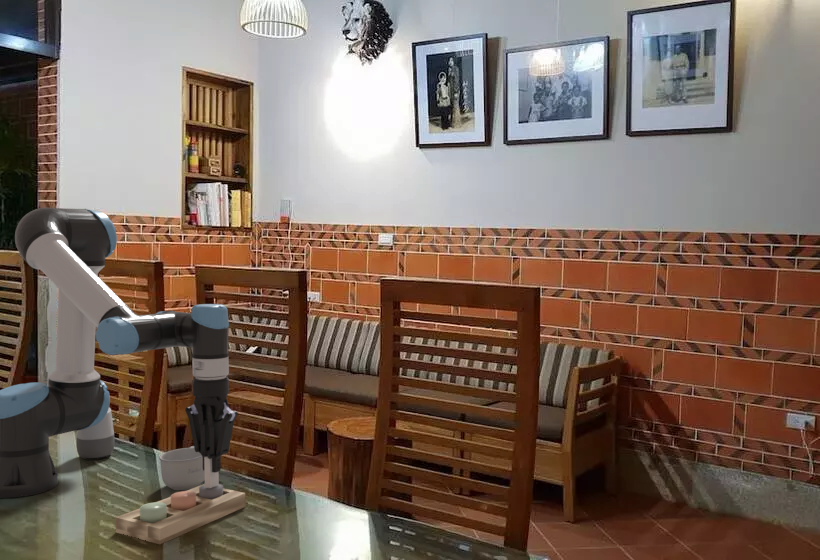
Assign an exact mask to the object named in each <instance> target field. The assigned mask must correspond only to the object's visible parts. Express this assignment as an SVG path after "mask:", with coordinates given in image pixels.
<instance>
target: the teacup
mask: <svg viewBox="0 0 820 560" xmlns="http://www.w3.org/2000/svg"><path fill="white" fill-rule="evenodd" d="M159 463H160V473H161V480H162V483H163V484H165V485H166V486H167V487H169V488H170V489H171V490H174V491H187V490H190V489H192V488H195V487H198V486H200V485H202V484H203V482H205V471H204V470H203V457H202V455H201V453H199V452H195V449H194V445H192V446H189V447H184V448H182V447H181V448H177V449H172V450H168V451H165V452H164V453H162V454H161V455H160V456H159Z"/></svg>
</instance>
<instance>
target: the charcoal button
mask: <svg viewBox="0 0 820 560" xmlns="http://www.w3.org/2000/svg"><path fill="white" fill-rule="evenodd" d="M201 485H202V486H200V487H199V497H202V498H207V499H211V500H212V499H215V498H217V497H220V496H222V495H223V488H224V485H223V484H220V483H219V485H218V486H215V487H212V488H205V485H203V484H201Z"/></svg>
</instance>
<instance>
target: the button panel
mask: <svg viewBox="0 0 820 560" xmlns="http://www.w3.org/2000/svg"><path fill="white" fill-rule="evenodd" d="M202 485H205V483H204V484H203V483H202V484H201V485H200V486H202ZM200 486H198V487H195V488H192V489H189V490H186V491H192V492H195V493H196V506H195V507H192V508H190V509H188V510H185V511H181V510H177V509H173V508H171V496H169V497H166V498H163V499H161V500H158V501H157V502H161V503H165V504H166V505H167V518H165V519H163V520H160V521H158V522H156V523H153V524H152V523H148V522H144V521H140V507H139V508H137V509H134V510H132V511H130V512H126V513H123V514H121V515H119V516H115V533H117V534H120V535H123V534H124V536H127V535H128V537H131V536H132V537H131V538H134V537H136V538H135V539H138V538H139V539H138V540H142V541H145V540H146V542H150V543H153V544H157V545H162V544H164V543H167V542H169V541H171V540H173V539H175V538H178V537H180V536H182V535H184V534H187V533H189V532H191V531H194V530H196V529H198V528H201V527H202V526H205V525H208V524H210V523H212V522H214V521H216V520H219V519H221V518H224V517H225V516H227V515H230V514H232V513H234V512H237V511H239V510H241V509H244V508H246V492H242V491H237V490H233V489H229V488H228V489H227V488H224V487H223V495H222V496H220V497H217V498H215V499H212V500H211V499H207V498H202V497H199V487H200Z"/></svg>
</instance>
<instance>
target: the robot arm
mask: <svg viewBox="0 0 820 560" xmlns="http://www.w3.org/2000/svg"><path fill="white" fill-rule="evenodd" d="M117 238H118V236H117V230H116V227H115V225H114V223H113V221H112V220H111V218H110V217H109V216H108V215H107V214H105V213H104V212H102V211H100V210H95V209H94V210H93V209H87V208H65V207H64V208H59V207H58V208H57V207H40V208H36V209H34V210H32V211H29V212H28V213H26V214H25V215H24V216H23V217H22V218H21V219H20V220H19V222H18V224H17V226H16V228H15V233H14V242H15V247H16V248H17V251H18V253H19V255H20V256H21V258H22V259H23V260H24V261H25V263H27V265H29V267H31V268H33V269H35V270H40V271H41V272H42V273H44V275H45V276H46V277H47V278H48V279H49V280H50V281H51V283H52V284H53V285H55V286H56V287H57V288H58V301H57V302H58V303H57V322H56V323H57V325H56V327H57V330H56V349H55V350H56V353H55V355H56V357H55V358H56V359H55V370H53V372H51V373H50V374H49V375H48V377H47V378H48V379H47V380H48V382H47V384H46V383H45V382H40V381H39V382H33V381H32V382H26V383H19V384H14V385H11V386H7V387H4V388H2V389H0V498H2V499H3V498H5V499H8V498H11V499H12V498H21V497H22V498H23V497H28V496H33V495H38V494H41V493H45V492H47V491H49V490H52V489H54V488H55V487H56V486H57V485H58V472H57V470H56V466H55V465H54V461H53V458H52V456H51V454H50V446H49V444H50V443H49V442H50V441H49V440H50V439H49V437H54V436H58V435H61V434H66V433H70V432H77V430H83V429H86V428H88V427H91V426H94V425H97V424H98V423H100V421H102V420H103V419H104V417H105V416H106V414H107V412H108V409H109V407H110V403H111V397H110V391H109V390H108V386H107V384H106V383H105V382H104V381H103V380H101V374H100V373H99V372H98V371H97V370H95V354H96V353H95V350H96V342H97V343H98V347H99V349H100V350H101V351H102V352H103V353H105V354H107V355H109V356H110V355H113V356H114V355H121V356H122V355H129V354H133V353H134V354H135V353H140V352H145V351H146V352H147V351H152V350H153V351H154V350H160V349H168V348H174V347H175V348H176V347H179V348H191V350H192V352H191V353H192V354H191V356H192V358H191V360H192V376H193V377H194V378H193V379H192V395H193V397H194V401H193V404H192V405H190V406H187V407H185V410H184V411H185V413H186V415H187V417H188V421H189V427H190V432H191V438H192V443H193V446H194V449H195V452H199V453H201V455H202V457H203V470H204V471H205V480H204V484H205V488H212V487H215V486H218V485H219V484H220V481H219V480H220V478H219V477H220V476H219V475H220V474H219V473H220V471H221V468H222V466H221V464H222V463H221V461H222V460H221V457H222V456H223V455H226V454H227V455H228V453H229V451H230V450H229V449H230V445H231V441H232V440H231V439H232V435H233V428H234V423H235V420H236V419H237V417H238V411H236V410H233V409H231V408H230V407H229V402H228V398H227V397H228V394H229V393H230V385H229V384H230V378H229V377H228V375H229V374H230V366H229V365H230V362H229V358H230V357H229V334H230V333H229V328H230V323H229V310H228V307H227V306H226V305H225V304H220V303H202V304H199V303H198V304H194V305H193V306H192V307H191V312H185V311H184V312H182V311H175V310H165V311H164V310H163V311H157V312H156V313H152V314H151V313H150V314H149V313H147V314H137V313H135V312H134V310H133V309H131V308H130V307H129V306H128V305H127V304H126V303H125V302H124V301H123V300H122V299H121V298H120V297H119V296H118V295H117V294H116V293H115V292H114V291H113V290H112V289H111V288H110V286H109V285H107V284H106V283H105V282H104V281H103V280H102V279H101V278H100V277H99V273H100V272H101V271H102V269H103V268H105V267H106V259H107V258H108V257H110V256H111V255H112V254H113V253H114V251H115V250H116V248H117V242H118V239H117Z"/></svg>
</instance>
